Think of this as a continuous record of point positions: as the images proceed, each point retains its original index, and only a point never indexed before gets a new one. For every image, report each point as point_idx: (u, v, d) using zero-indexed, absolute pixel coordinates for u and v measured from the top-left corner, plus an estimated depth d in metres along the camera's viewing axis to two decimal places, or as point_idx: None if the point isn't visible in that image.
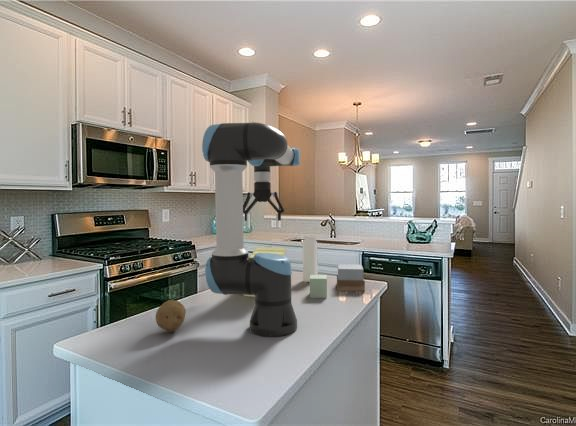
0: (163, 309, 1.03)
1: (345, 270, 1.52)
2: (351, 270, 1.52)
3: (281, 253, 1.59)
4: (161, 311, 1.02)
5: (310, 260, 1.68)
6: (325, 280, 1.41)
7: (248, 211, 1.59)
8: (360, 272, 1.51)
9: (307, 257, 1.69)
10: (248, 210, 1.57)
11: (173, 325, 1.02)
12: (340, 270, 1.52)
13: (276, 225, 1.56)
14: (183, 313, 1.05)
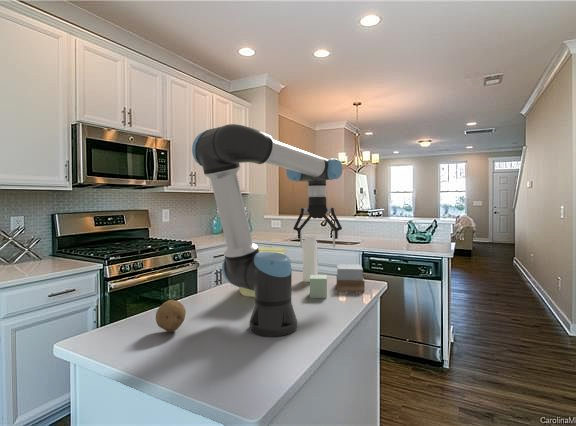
0: (163, 309, 1.03)
1: (344, 270, 1.52)
2: (350, 270, 1.52)
3: (281, 253, 1.59)
4: (161, 311, 1.02)
5: (310, 260, 1.68)
6: (325, 280, 1.41)
7: None
8: (360, 272, 1.51)
9: (307, 257, 1.69)
10: (302, 227, 1.44)
11: (173, 325, 1.02)
12: (339, 270, 1.52)
13: (333, 244, 1.42)
14: (183, 313, 1.05)
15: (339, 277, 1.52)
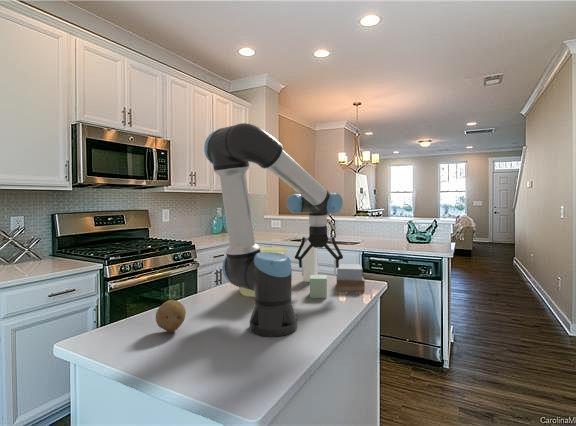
0: (163, 309, 1.03)
1: (344, 270, 1.52)
2: (350, 270, 1.52)
3: (281, 253, 1.59)
4: (161, 311, 1.02)
5: (310, 260, 1.68)
6: (325, 280, 1.41)
7: None
8: (359, 272, 1.51)
9: (307, 257, 1.69)
10: None
11: (173, 325, 1.02)
12: (339, 270, 1.52)
13: (334, 273, 1.43)
14: (183, 313, 1.05)
15: (338, 277, 1.53)
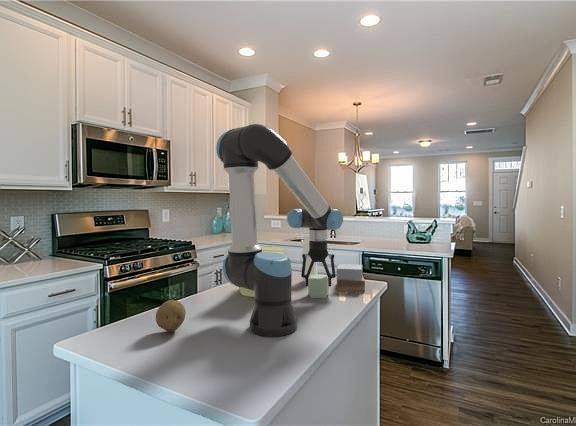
0: (163, 309, 1.03)
1: (343, 270, 1.52)
2: (349, 270, 1.52)
3: (281, 253, 1.59)
4: (161, 311, 1.02)
5: (310, 260, 1.68)
6: (325, 280, 1.41)
7: None
8: (359, 273, 1.51)
9: (307, 257, 1.69)
10: (309, 274, 1.44)
11: (173, 325, 1.02)
12: (338, 270, 1.53)
13: (327, 292, 1.43)
14: (183, 313, 1.05)
15: (338, 277, 1.53)
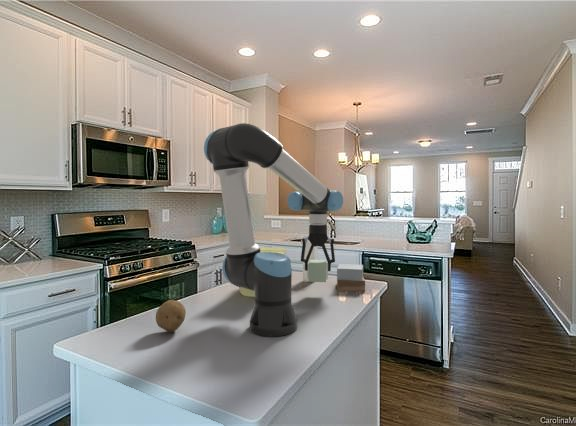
0: (163, 309, 1.03)
1: (344, 270, 1.52)
2: (350, 270, 1.52)
3: (281, 253, 1.59)
4: (161, 311, 1.02)
5: None
6: (324, 264, 1.41)
7: None
8: (359, 273, 1.51)
9: None
10: (308, 258, 1.44)
11: (173, 325, 1.02)
12: (339, 270, 1.53)
13: (326, 276, 1.43)
14: (183, 313, 1.05)
15: (338, 277, 1.53)
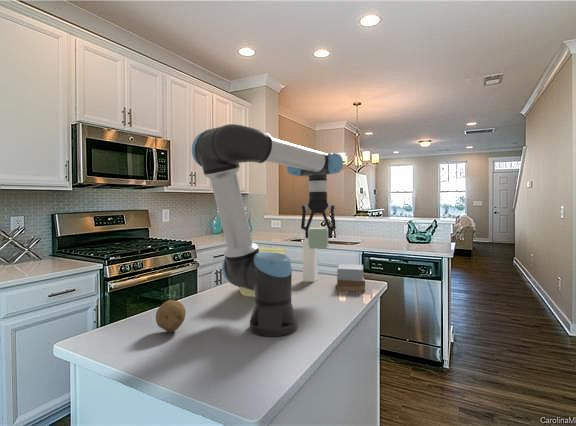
0: (163, 309, 1.03)
1: (344, 270, 1.52)
2: (350, 270, 1.52)
3: (281, 253, 1.59)
4: (161, 311, 1.02)
5: (310, 260, 1.68)
6: (325, 230, 1.40)
7: None
8: (360, 273, 1.51)
9: (307, 257, 1.69)
10: (308, 226, 1.43)
11: (173, 325, 1.02)
12: (339, 270, 1.53)
13: None
14: (183, 313, 1.05)
15: (339, 277, 1.53)
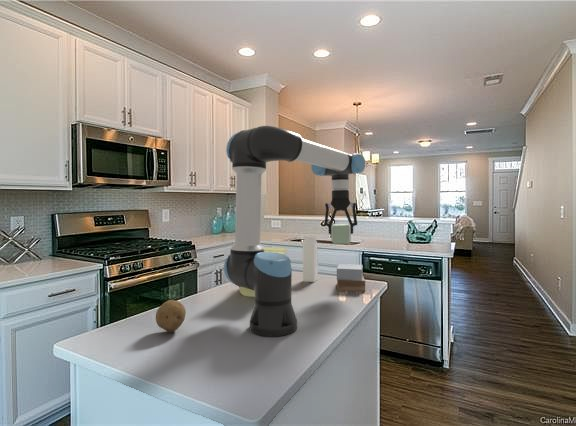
0: (163, 309, 1.03)
1: (343, 270, 1.52)
2: (349, 270, 1.52)
3: (281, 253, 1.59)
4: (161, 311, 1.02)
5: (310, 260, 1.68)
6: (348, 226, 1.49)
7: None
8: (359, 273, 1.51)
9: (307, 257, 1.69)
10: (332, 222, 1.52)
11: (173, 325, 1.02)
12: (338, 270, 1.53)
13: (349, 239, 1.51)
14: (183, 313, 1.05)
15: (338, 277, 1.53)
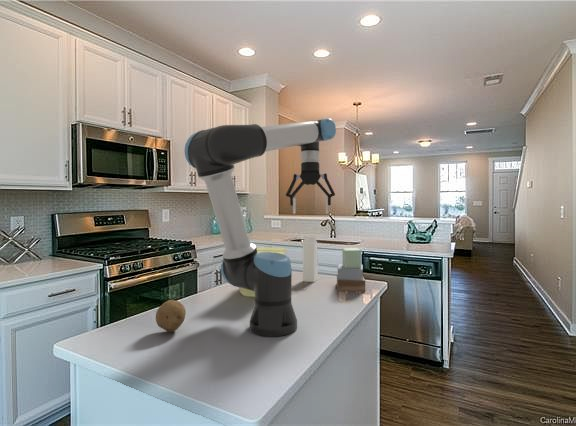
0: (163, 309, 1.03)
1: (344, 270, 1.52)
2: (350, 270, 1.52)
3: (281, 253, 1.59)
4: (161, 311, 1.02)
5: (310, 260, 1.68)
6: (359, 251, 1.53)
7: (294, 195, 1.43)
8: (360, 272, 1.51)
9: (307, 257, 1.69)
10: (294, 194, 1.41)
11: (173, 325, 1.02)
12: (339, 270, 1.53)
13: (326, 210, 1.40)
14: (183, 313, 1.05)
15: (339, 277, 1.53)
